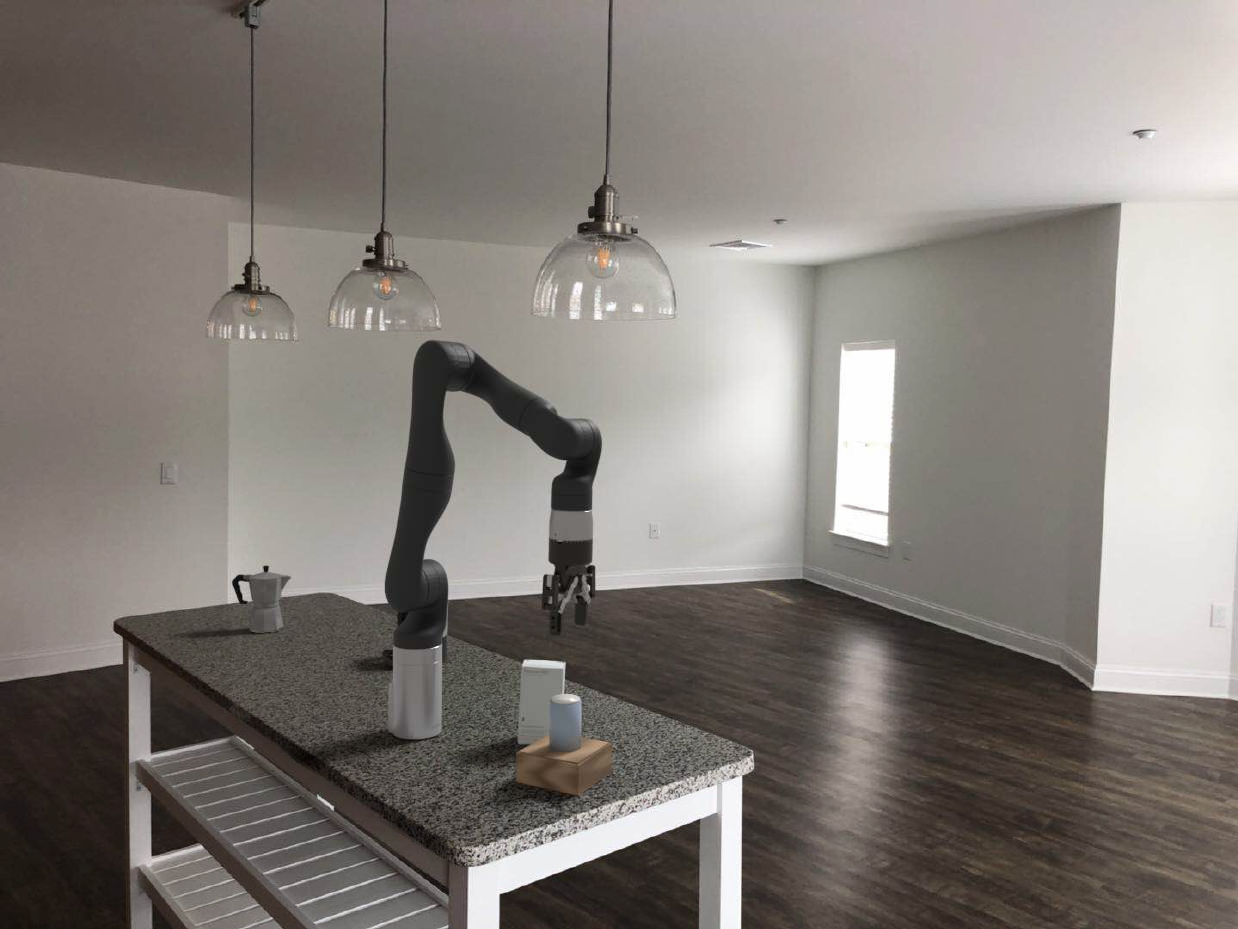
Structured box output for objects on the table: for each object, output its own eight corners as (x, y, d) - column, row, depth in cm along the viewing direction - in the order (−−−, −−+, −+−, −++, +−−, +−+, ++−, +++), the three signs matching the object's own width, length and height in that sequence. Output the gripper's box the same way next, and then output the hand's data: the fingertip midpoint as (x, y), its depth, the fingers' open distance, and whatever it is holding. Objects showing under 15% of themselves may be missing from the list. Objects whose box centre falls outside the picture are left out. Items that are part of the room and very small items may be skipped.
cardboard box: (515, 782, 165) (516, 751, 165) (551, 759, 176) (552, 731, 176) (578, 795, 160) (578, 764, 160) (611, 772, 171) (612, 742, 170)
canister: (543, 748, 166) (544, 700, 166) (559, 739, 171) (559, 691, 171) (571, 754, 164) (571, 704, 164) (586, 744, 169) (587, 696, 168)
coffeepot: (292, 625, 277) (292, 562, 276) (289, 633, 268) (289, 567, 267) (234, 627, 274) (234, 563, 273) (229, 635, 265) (229, 568, 264)
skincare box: (517, 745, 183) (518, 666, 182) (520, 734, 189) (521, 658, 188) (562, 746, 183) (563, 667, 182) (564, 735, 189) (565, 659, 188)
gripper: (572, 529, 175) (570, 619, 176) (529, 538, 163) (527, 635, 164) (609, 533, 172) (607, 624, 173) (569, 542, 159) (566, 641, 160)
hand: (568, 629), depth 168 cm, fingers open, 8 cm apart
